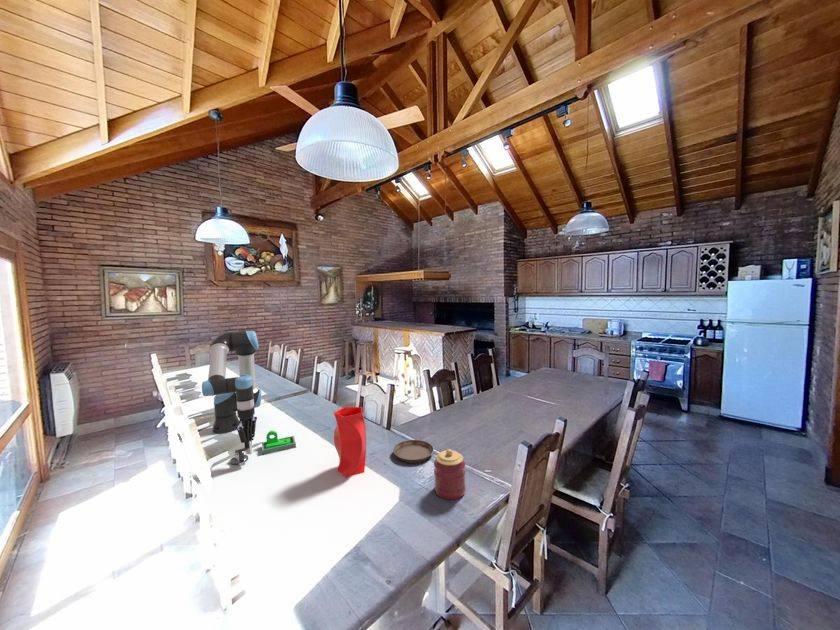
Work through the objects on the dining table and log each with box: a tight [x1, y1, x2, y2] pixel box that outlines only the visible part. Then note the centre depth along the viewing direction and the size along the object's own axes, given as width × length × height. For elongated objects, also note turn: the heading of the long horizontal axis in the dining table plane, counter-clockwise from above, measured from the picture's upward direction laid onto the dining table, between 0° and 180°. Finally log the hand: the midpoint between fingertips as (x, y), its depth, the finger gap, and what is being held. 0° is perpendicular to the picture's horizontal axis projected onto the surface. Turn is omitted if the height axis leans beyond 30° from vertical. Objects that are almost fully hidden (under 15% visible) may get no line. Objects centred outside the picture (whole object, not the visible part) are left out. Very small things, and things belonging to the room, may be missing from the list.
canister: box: [433, 448, 467, 500], centre depth 134 cm, size 13×13×18 cm
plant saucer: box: [392, 439, 435, 464], centre depth 166 cm, size 21×21×3 cm
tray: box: [261, 435, 297, 456], centre depth 178 cm, size 11×17×2 cm, turn 117°
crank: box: [233, 447, 247, 467], centre depth 161 cm, size 12×5×8 cm, turn 38°
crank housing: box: [229, 454, 249, 466], centre depth 164 cm, size 8×8×1 cm
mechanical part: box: [265, 430, 290, 449], centre depth 178 cm, size 12×6×8 cm, turn 111°
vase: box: [333, 406, 367, 478], centre depth 152 cm, size 15×14×28 cm
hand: (248, 453), depth 161 cm, fingers closed
